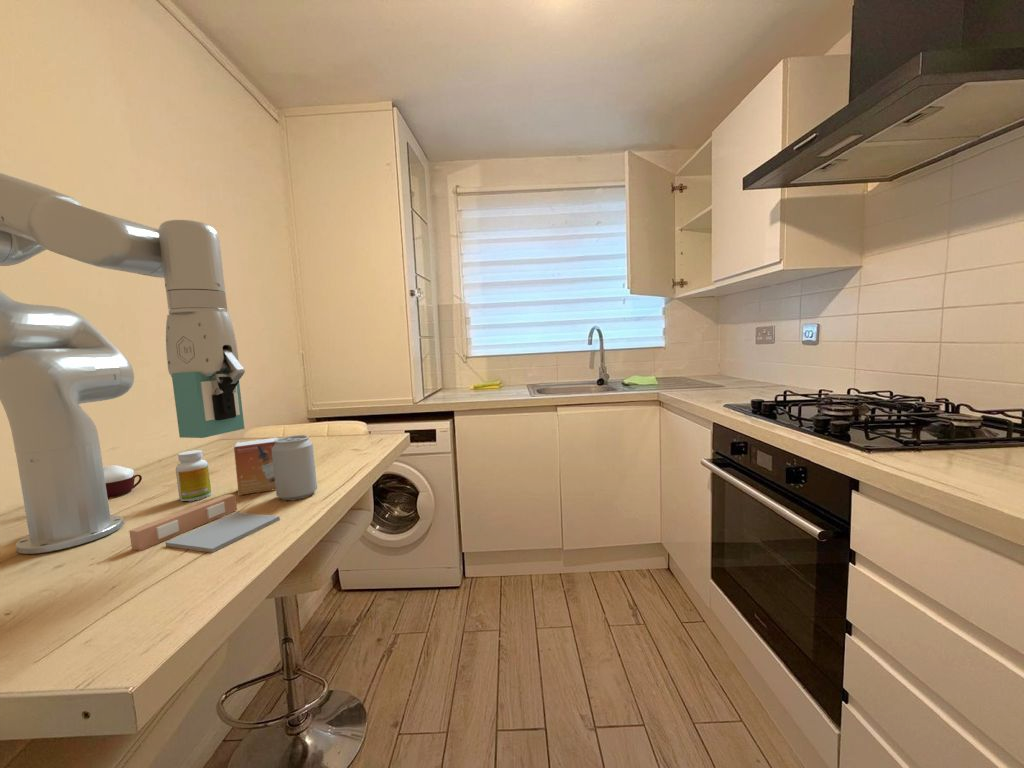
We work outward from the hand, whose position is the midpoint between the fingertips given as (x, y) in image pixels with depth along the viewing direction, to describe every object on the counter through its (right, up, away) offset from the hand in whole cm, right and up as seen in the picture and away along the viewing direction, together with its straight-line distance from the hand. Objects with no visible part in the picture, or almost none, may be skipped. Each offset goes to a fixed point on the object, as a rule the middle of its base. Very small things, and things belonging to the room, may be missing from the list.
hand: (212, 417), depth 69 cm
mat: (+1, -19, +2) cm, 19 cm away
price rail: (-7, -19, +4) cm, 21 cm away
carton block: (0, -2, 0) cm, 3 cm away
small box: (-6, -18, +24) cm, 31 cm away
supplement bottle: (-18, -19, +21) cm, 33 cm away
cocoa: (-39, -19, +26) cm, 51 cm away
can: (+5, -18, +18) cm, 26 cm away
